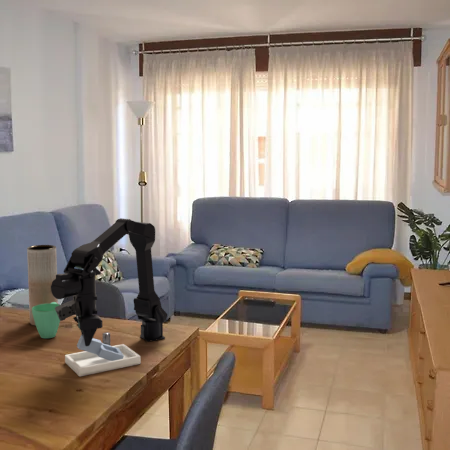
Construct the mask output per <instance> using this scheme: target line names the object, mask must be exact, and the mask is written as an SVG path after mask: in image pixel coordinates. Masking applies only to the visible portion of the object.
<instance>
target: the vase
mask: <svg viewBox="0 0 450 450" xmlns="http://www.w3.org/2000/svg"><path fill="white" fill-rule="evenodd" d="M26 252H27V253H26V254H27V255H26V256H27V276H28V277H27V278H28V279H27V280H28V283H27V284H28V304H29V307H28V309H29V310H28V311H29V323H30V325H31V326H35V327H36V325H35V322H34V318H33V314H32V307H34V306H36V305H40V304H50V303H52V302H56V303H57V304H59V301H58V300H59V299H56V298H55V297H54V296H53V294H52V292H51V285H52V282H53V280H55V279H56V274H58V265H57V260H58V259H57V246H56V245H52V244H38V245H37V244H36V245H30V246H28V247H27V249H26Z"/></svg>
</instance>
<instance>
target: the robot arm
mask: <svg viewBox="0 0 450 450" xmlns="http://www.w3.org/2000/svg"><path fill="white" fill-rule="evenodd" d="M126 235H128V238H129V243H130V244H131V246H133V248H134V250H135V257H136V258H135V259H136V269H137V281H138V294H137V296H136V298H135V297H134V298H133V301H132V302H133V310H134V311H135V314H136V316H137V319H138V320H139V321H141V324H140V335H139V337H140V338H142V339H143V340H144V341H146V342H148V343H149V342H155V341H160V340H165V339H166V336H164V332H163V331H164V327H163V326H164V323H165V321H167V318H168V313H167V312H166V310H164V308H163V307H162V304H161V299H160V297H159V295H158V294H157V292H156V291H155V281H154V280H155V279H154V270H153V268H154V267H153V257H152V255H153V254H152V248H153V246H154V244H155V241H156V227H155V225H154V224H153V223H150V222H141V221H134V220H132V219H130V218H117V219H116V220H115V223H113V224H112V225H110V227H108V228H107V229H106V230H105V231H103V232H102V233H101V234H100V235H98V236H97V237H96V238H95V239H94V240H92V241H91V242H89V243H84V244H82V245H80V246H78V247H76V248H75V249H74V250H72V252H71V255H70V258H69V259H68V261H67V264H66V265H65V267H64V269H63V273H57V274H56V279H55V280H53V282H52V285H51V292H52V294H53V296H54V297H55V298H56V299H58V300H64V299H66V298H71V297H72V299H71V300H70V301H67V302H66V301H65V302H64V303H61V304H60V305H59V306H57V307H55V310H56V313H57V315H58V317H59V320H60V322H62V321H65V320H66V319H68V318H70V317H73V316H74V315H75V316H74V317H73V321H74V322H76V326H77V328H79V330H80V333H81V334H82V335H83V336H84V341H85V346H90V343H91V341H92V339H93V338H94V336H95V334H96V332H97V330H98V329H102V328H103V326H104V325H103V320H102V318H101V317H100V316H99V315H98V309H97V300H98V295H97V294H96V293H97V291H96V290H97V289H96V287H97V286H96V285H97V284H96V276H100V275H101V274H102V272H101V271H100V269H98V266H99V265H100V264H101V262H102V261H103V260H104V255H105V254H106V252H108V251H109V250H110V249H112V247H114V246H115V244H117V243H118V242H119V241H120V240H122V239H123V238H124V237H125V236H126ZM81 334H80V335H81Z"/></svg>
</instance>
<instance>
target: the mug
mask: <svg viewBox="0 0 450 450" xmlns="http://www.w3.org/2000/svg"><path fill="white" fill-rule="evenodd" d="M59 305H61V304H59V303H58V304H57V303H56V302H52V303H50V304H40V305H36V306H34V307H32V314H33V318H34V322H35V325H36V326H35V328H36V330H37V332H38V334H39V337H40V338H41V339H51V338H55V337H56V335H57V333H58V330H59V326H60V324H61V321H60V320H59V317H58V315H57V313H56V310H55V307H57V306H59Z"/></svg>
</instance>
